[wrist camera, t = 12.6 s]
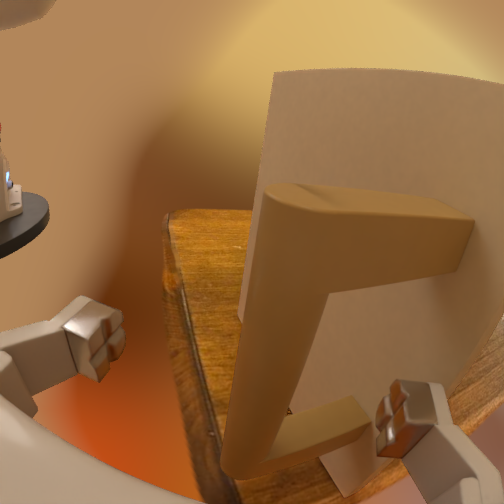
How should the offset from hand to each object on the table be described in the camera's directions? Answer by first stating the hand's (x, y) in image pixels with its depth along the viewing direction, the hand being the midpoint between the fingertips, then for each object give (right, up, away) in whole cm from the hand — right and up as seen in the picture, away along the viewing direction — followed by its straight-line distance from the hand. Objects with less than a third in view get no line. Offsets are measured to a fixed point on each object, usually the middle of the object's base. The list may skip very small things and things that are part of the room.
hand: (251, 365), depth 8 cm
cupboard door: (-1, -6, +9) cm, 10 cm away
